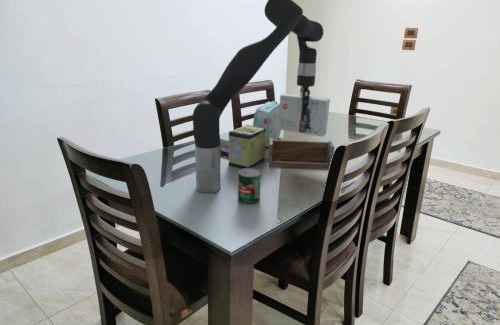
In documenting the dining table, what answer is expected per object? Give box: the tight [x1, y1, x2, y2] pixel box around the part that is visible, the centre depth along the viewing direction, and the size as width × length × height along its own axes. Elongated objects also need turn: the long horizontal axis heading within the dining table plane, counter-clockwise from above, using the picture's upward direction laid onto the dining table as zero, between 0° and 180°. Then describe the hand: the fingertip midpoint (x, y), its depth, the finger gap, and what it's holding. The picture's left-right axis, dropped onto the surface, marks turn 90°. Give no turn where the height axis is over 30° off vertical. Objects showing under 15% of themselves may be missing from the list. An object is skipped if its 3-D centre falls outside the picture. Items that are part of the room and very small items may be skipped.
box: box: [220, 138, 229, 159], centre depth 178 cm, size 14×4×20 cm
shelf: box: [268, 138, 335, 170], centre depth 162 cm, size 11×28×10 cm, turn 87°
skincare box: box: [278, 92, 331, 138], centre depth 156 cm, size 21×6×16 cm, turn 64°
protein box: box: [228, 124, 266, 169], centre depth 160 cm, size 10×16×16 cm
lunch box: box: [252, 100, 282, 148], centre depth 190 cm, size 27×10×21 cm, turn 161°
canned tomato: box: [237, 167, 262, 206], centre depth 125 cm, size 8×8×11 cm
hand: (303, 113), depth 156 cm, fingers closed on skincare box, 6 cm apart
